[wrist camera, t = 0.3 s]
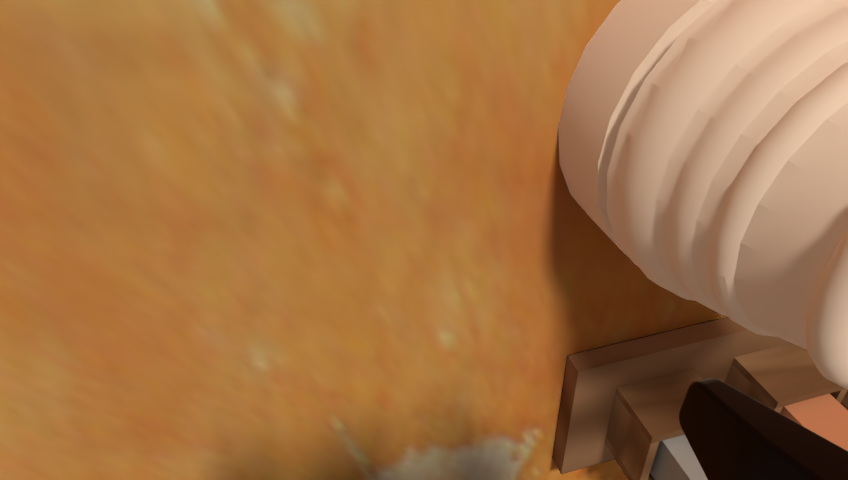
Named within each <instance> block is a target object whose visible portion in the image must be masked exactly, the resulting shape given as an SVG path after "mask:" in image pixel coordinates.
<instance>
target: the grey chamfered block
mask: <svg viewBox="0 0 848 480" xmlns="http://www.w3.org/2000/svg"><path fill="white" fill-rule="evenodd" d="M650 474H651V475H652V477H653V478H654V480H708V479H707V477H706V475H705V473H704V471H703V469H702V467H701V465H700V464H699V462H698V460H697V458H696V456H695V454H694V452H693V450H692V448H691V446H690V444H689V442H688V440H687V438H686V436H685V434H684V435H681V436H677V437H674V438H670V439H667V440H663V441H660V442H659V445H658V448H657V451H656V454H655V458H654V461H653V464H652V467H651V470H650Z"/></svg>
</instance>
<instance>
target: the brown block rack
mask: <svg viewBox="0 0 848 480" xmlns="http://www.w3.org/2000/svg"><path fill="white" fill-rule="evenodd" d="M707 378H716V379H719V380H721V381H723V382H724V383H726V384H728V385H730V386H732V387H733V388H735V389H737V390H739V391H741V392H742V393H744V394H746V395H748V396H750V397H751V398H753V399H755V400H757V401H759V402H760V403H762V404H764V405H766V406H768V407H769V408H771V409H773V410H775V411H777V412H778V413H780V412H781V410H782V408H783V406H787V405H790V404H794V403H797V402H801V401H805V400H808V399H812V398H815V397H819V396H822V395H826V394H831V395H832V396H833V397H834V398H835V399H836V400H837V401H838V402H839V403H840V404H841V405H842V406H844V407H845V408H846V409H847V410H848V390H847V389H845V388H843V387H841V386H839V385H837V384H836V383H834V382H832V381H830V380H828V379H826V378H825V377H823V376H822V375H821V373H820V372H819V371H818V369H817V367H816V365H815V364H814V362H813V360H812V359H811V357H810V355H809V353H808V352H807V350H806V349H804V348H802V347H799V346H797V345H795V344H792V343H790V342H788V341H786V340H783V339H781V338H779V337H775V336H765V335H758V334H756V333H754V332H752V331H750V330H748V329H746V328H744V327H742V326H741V325H739V324H737V323H735V322H733V321H732V320H730V318H729V317H726V318H722V319H718V320H714V321H710V322H705V323H701V324H697V325H693V326H689V327H685V328H681V329H676V330H672V331H668V332H664V333H660V334H656V335H652V336H647V337H643V338H639V339H635V340H631V341H627V342H623V343H618V344H614V345H610V346H606V347H602V348H598V349H594V350H589V351H585V352H581V353H577V354H573V355H569V356H568V357H567V364H566V370H565V377H564V384H563V391H562V397H561V404H560V411H559V418H558V424H557V431H556V438H555V445H554V451H553V460H554V461H555V463H556V465H557V467H558V469H559V471H560V473H561V474H564V473H568V472H571V471H575V470H578V469H582V468H585V467H589V466H592V465H596V464H599V463H603V462H606V461H610V460H613V459H616V461H617V462H618V464H619V466H620V467H621V469H622V470H623V472H624V474H625V475H626V477H627V478H628V480H654V478H653V477H652V475H651V474H650V470H651V467H652V464H653V461H654V458H655V454H656V451H657V448H658V445H659V442H660V441H663V440H667V439H670V438H674V437H677V436H681V435H684V432H683V430H682V428H681V425H680V422H679V411H680V408H681V405H682V403H683V400H684V397H685V395H686V392H687V390H688V387H689V385H690V384H691V383H692V382H694V381H698V380H702V379H707Z"/></svg>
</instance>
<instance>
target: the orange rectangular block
mask: <svg viewBox="0 0 848 480" xmlns="http://www.w3.org/2000/svg"><path fill="white" fill-rule="evenodd" d="M780 414H782V415H784V416H786V417H787V418H789V419H791V420H793V421H795V422H796V423H798V424H800V425H802V426H804V427H805V428H807V429H809V430H811V431H813V432H814V433H816V434H818V435H820V436H822V437H823V438H825V439H827V440H829V441H831V442H832V443H834V444H836V445H838V446H840V447H841V448H843V449H845V450H847V451H848V410H847V409H846V408H845V407H844V406H842V405H841V404H840V403H839V402H838V401H837V400H836V399H835V398H834V397H833V396H832V395H831V394H826V395H822V396H819V397H815V398H812V399H808V400H805V401H801V402H797V403H794V404H790V405H787V406H783V408H782V410H781V412H780Z"/></svg>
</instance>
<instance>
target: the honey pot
mask: <svg viewBox="0 0 848 480" xmlns="http://www.w3.org/2000/svg"><path fill="white" fill-rule="evenodd" d="M558 138H559V164H560V167H561V170H562V173H563V176H564V178H565V181H566V184H567V187H568V190H569V193H570V194H571V196H572V197H573V198H574V199H575V200H576V202H577V203H578V204H579V205H580V206H581V208H582V209H583V210H584V211H585V213H586V214H587V215H588V216H589V217H590V218H591V219H592V220H593V221H594V222H595V223H596V224H597V225H598V227H599V228H600V229H601V230H602V231H603V232H604V233H605V234H606V235H607V236H608V237H609V238H610V239H611V240H612V241H613V242H614V243H615V244H616V245H617V247H618V248H619V249H620V250H621V251H622V252H623V253H624V254H625V255H626V256H628V257H629V258H630V259H631V261H632V262H633V263H634V264H635V265H636V266H638V267H639V268H640V269H641V271H642V272H643V273H644V274H645V275H646V277H647V278H648V279H649V280H651V281H652V282H654V283H655V284H657V285H659V286H660V287H662V288H664V289H666V290H668V291H670V292H672V293H674V294H676V295H677V296H679V297H681V298H683V299H686V300H693V301H697V302H699V303H700V304H702V305H704V306H706V307H708V308H710V309H711V310H713V311H715V312H717V313H719V314H721V315H723V316H728V317H729V318H730V320H732V321H733V322H735V323H737V324H739V325H741V326H742V327H744V328H746V329H748V330H750V331H752V332H754V333H756V334H758V335H765V336H775V337H779V338H781V339H783V340H786V341H788V342H790V343H792V344H795V345H797V346H799V347H802V348H804V349H806V350H807V352H808V353H809V355H810V357H811V359H812V360H813V362H814V364H815V365H816V367H817V369H818V371H819V372H820V373H821V375H822V376H823V377H825V378H826V379H828V380H830V381H832V382H834V383H836V384H837V385H839V386H841V387H843V388H845V389H847V390H848V0H621V1H620V2H618V3H617V4H616V6H615V7H614V9H613V10H612V11H611V13H610V14H609V15H608V17H607V18H606V19H605V21H604V22H603V23H602V25H601V26H600V28H599V29H598V30H597V32H596V33H595V34H594V36H593V37H592V38H591V40H590V41H589V42H588V44H587V45H586V48H585V50H584V52H583V54H582V56H581V58H580V61H579V63H578V65H577V67H576V69H575V71H574V73H573V76H572V78H571V80H570V82H569V84H568V86H567V90H566V95H565V99H564V104H563V108H562V113H561V117H560V122H559V126H558Z"/></svg>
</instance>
